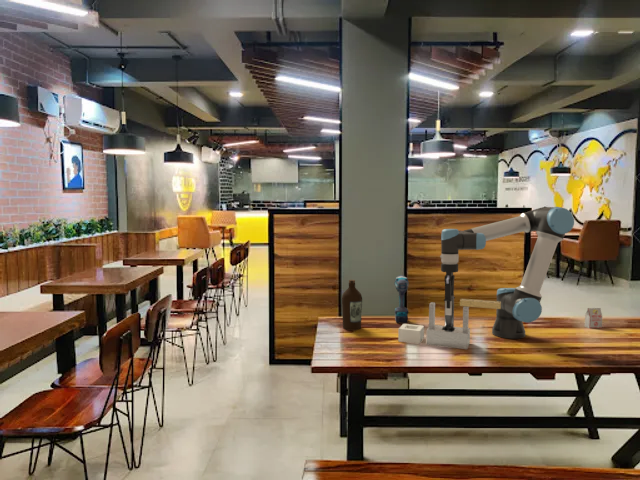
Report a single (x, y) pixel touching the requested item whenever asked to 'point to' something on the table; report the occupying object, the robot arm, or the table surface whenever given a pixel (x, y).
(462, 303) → the rectangular wooden block
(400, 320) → the impact wrench
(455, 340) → the grey post stand
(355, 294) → the olive oil
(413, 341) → the cream square block
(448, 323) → the smooth metal cylinder
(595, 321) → the milk carton
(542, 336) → the table surface
